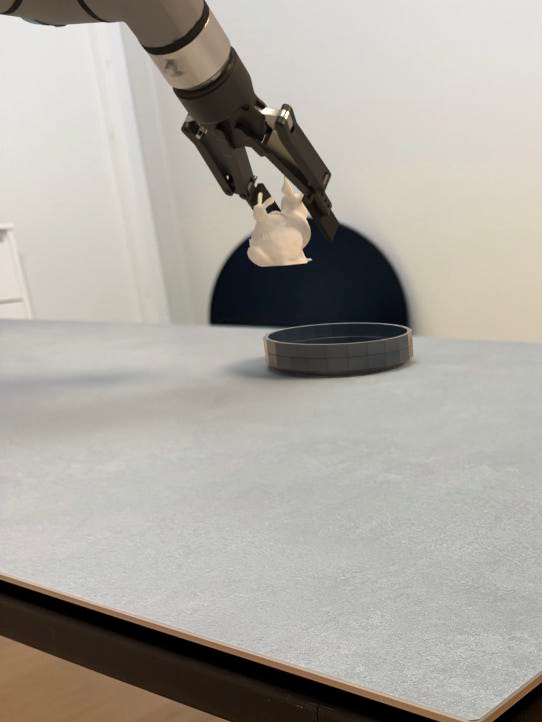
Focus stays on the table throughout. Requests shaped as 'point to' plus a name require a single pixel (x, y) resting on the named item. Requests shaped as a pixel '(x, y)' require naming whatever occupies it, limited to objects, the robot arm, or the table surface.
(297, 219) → the rabbit figurine
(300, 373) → the bowl
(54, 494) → the table surface
